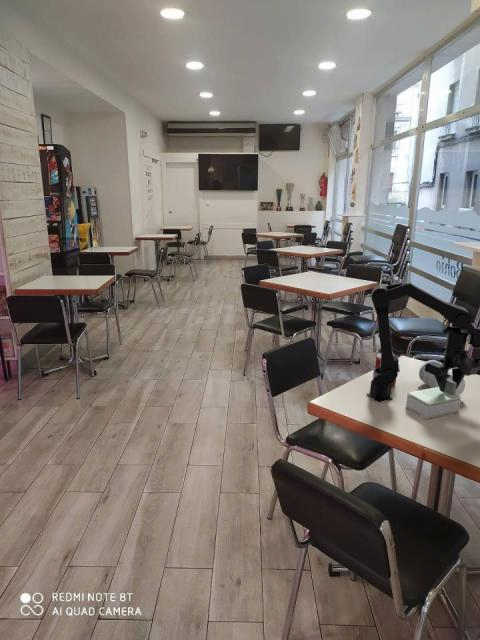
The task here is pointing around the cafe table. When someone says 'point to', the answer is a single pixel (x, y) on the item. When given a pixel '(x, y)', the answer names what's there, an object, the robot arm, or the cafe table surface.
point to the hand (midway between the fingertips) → (448, 390)
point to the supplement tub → (432, 381)
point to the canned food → (378, 359)
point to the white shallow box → (432, 408)
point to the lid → (437, 394)
